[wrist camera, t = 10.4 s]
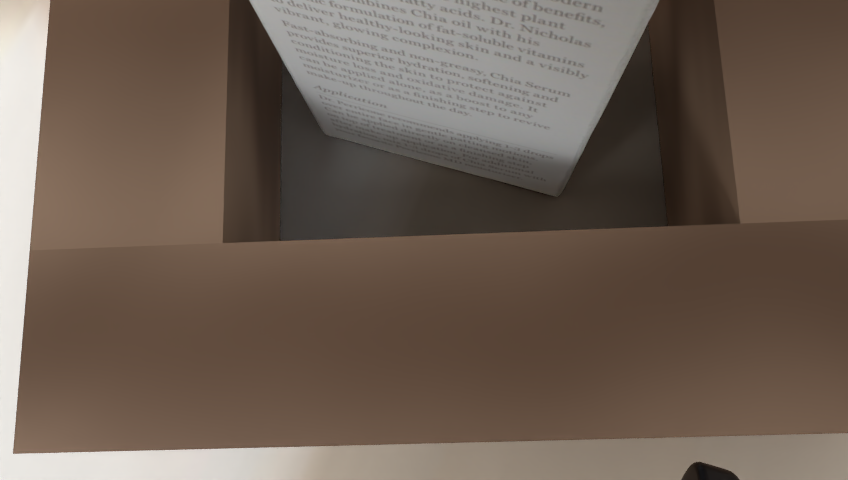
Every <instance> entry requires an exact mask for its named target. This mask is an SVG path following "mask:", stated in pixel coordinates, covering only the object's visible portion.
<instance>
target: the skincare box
mask: <svg viewBox="0 0 848 480" xmlns="http://www.w3.org/2000/svg"><path fill="white" fill-rule="evenodd" d="M249 1H250V3H251V4H252V6H253V8H254V10H255V12H256V13H257V15H258V17H259V19H260V21H261V22H262V24H263V26H264V28H265V30H266V31H267V33H268V35H269V37H270V38H271V40H272V42H273V44H274V46H275V48H276V49H277V51H278V53H279V55H280V57H281V58H282V60H283V62H284V64H285V66H286V67H287V69H288V71H289V73H290V74H291V76H292V78H293V80H294V82H295V84H296V86H297V87H298V89H299V90H300V92H301V94H302V96H303V98H304V100H305V101H306V103H307V105H308V107H309V108H310V110H311V112H312V114H313V116H314V117H315V119H316V121H317V122H318V124H319V126H320V128H321V130H322V131H323V132H324V133H325V134H326V135H328V136H332V137H336V138H340V139H344V140H348V141H352V142H355V143H359V144H362V145H366V146H370V147H373V148H377V149H381V150H384V151H388V152H392V153H395V154H399V155H403V156H406V157H410V158H414V159H418V160H421V161H425V162H428V163H432V164H436V165H440V166H444V167H448V168H452V169H455V170H459V171H463V172H466V173H470V174H474V175H477V176H481V177H485V178H489V179H493V180H497V181H500V182H504V183H508V184H512V185H515V186H519V187H522V188H526V189H530V190H533V191H537V192H541V193H544V194H547V195H551V196H559V195H560V194H561V193H562V191H563V190H564V188H565V186H566V184H567V182H568V181H569V179H570V177H571V175H572V173H573V170H574V168H575V166H576V164H577V162H578V160H579V158H580V156H581V155H582V152H583V150H584V148H585V146H586V144H587V142H588V140H589V138H590V136H591V134H592V132H593V130H594V129H595V127H596V125H597V123H598V121H599V119H600V117H601V116H602V114H603V112H604V110H605V108H606V106H607V104H608V102H609V100H610V98H611V96H612V94H613V92H614V90H615V88H616V86H617V84H618V82H619V80H620V78H621V76H622V74H623V72H624V70H625V68H626V66H627V64H628V62H629V60H630V58H631V56H632V54H633V52H634V50H635V48H636V46H637V44H638V42H639V40H640V38H641V36H642V34H643V32H644V30H645V28H646V26H647V24H648V22H649V20H650V18H651V16H652V14H653V13H654V11H655V9H656V6H657V4H658V2H659V0H249Z"/></svg>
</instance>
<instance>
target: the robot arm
mask: <svg viewBox="0 0 848 480" xmlns="http://www.w3.org/2000/svg"><path fill="white" fill-rule="evenodd" d="M681 480H739V479H738V477H737V476H736V475H735V474H734V473H732V472H731V471H729V470H725V469H722V468H719V467H715V466H712V465H709V464H706V463H702V462H696V463H693V464H692V465H691V466H690V467H689V468H688V469H687V471H686V473H685V474H684V476H683V478H682V479H681Z"/></svg>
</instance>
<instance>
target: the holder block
mask: <svg viewBox="0 0 848 480" xmlns="http://www.w3.org/2000/svg"><path fill="white" fill-rule="evenodd" d="M648 28H649V38H650V48H651V58H652V68H653V79H654V89H655V99H656V109H657V119H658V130H659V140H660V150H661V160H662V170H663V180H664V191H665V201H666V211H667V221H668V226H662V227H636V228H609V229H583V230H556V231H530V232H503V233H477V234H450V235H424V236H397V237H371V238H344V239H318V240H291V241H280V191H281V107H282V58H281V57H280V55H279V53H278V51H277V49H276V48H275V46H274V44H273V42H272V40H271V38H270V37H269V35H268V33H267V31H266V30H265V28H264V26H263V24H262V22H261V21H260V19H259V17H258V15H257V13H256V12H255V10H254V8H253V6H252V4H251V3H250V1H249V0H50V12H49V24H48V36H47V48H46V60H45V72H44V84H43V97H42V109H41V121H40V133H39V145H38V157H37V169H36V182H35V194H34V206H33V218H32V230H31V242H30V255H29V267H28V279H27V291H26V303H25V315H24V327H23V340H22V352H21V364H20V376H19V388H18V400H17V412H16V425H15V437H14V449H13V454H19V453H59V452H99V451H139V450H179V449H220V448H260V447H300V446H340V445H380V444H420V443H461V442H501V441H541V440H581V439H621V438H662V437H702V436H742V435H782V434H822V433H848V0H659V2H658V4H657V6H656V9H655V11H654V13H653V14H652V16H651V18H650V20H649V22H648Z"/></svg>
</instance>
